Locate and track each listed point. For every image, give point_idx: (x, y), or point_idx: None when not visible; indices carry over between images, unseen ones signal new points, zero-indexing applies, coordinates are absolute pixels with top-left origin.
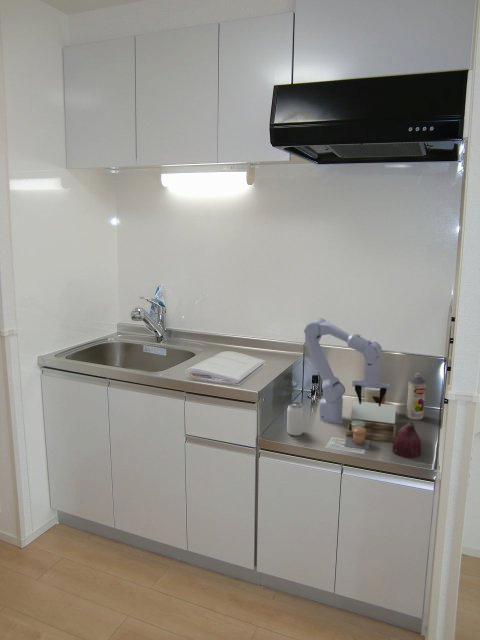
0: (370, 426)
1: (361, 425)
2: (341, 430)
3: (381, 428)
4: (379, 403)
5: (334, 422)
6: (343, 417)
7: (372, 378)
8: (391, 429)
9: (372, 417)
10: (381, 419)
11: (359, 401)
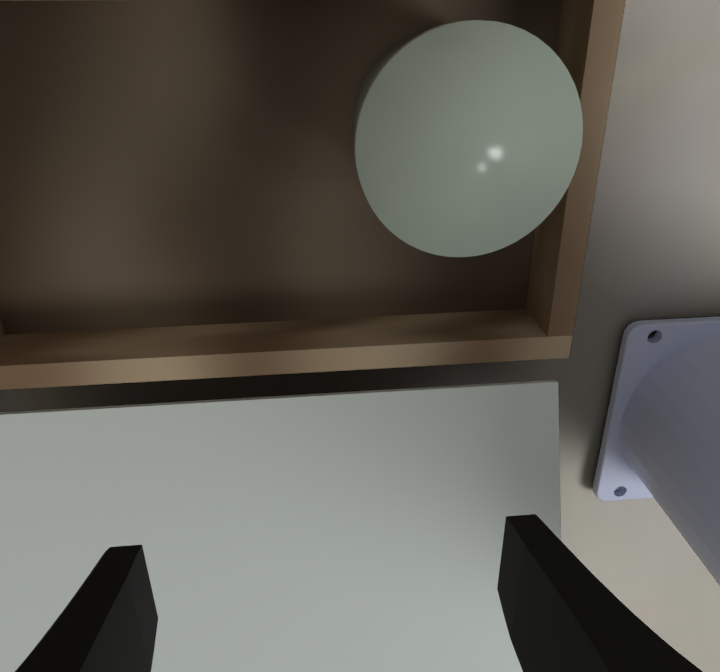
0: (291, 328)
1: (409, 77)
2: (633, 161)
3: (154, 331)
4: (105, 590)
5: (711, 320)
6: (603, 463)
7: None
8: (27, 340)
9: (282, 457)
10: (159, 448)
11: (561, 550)
